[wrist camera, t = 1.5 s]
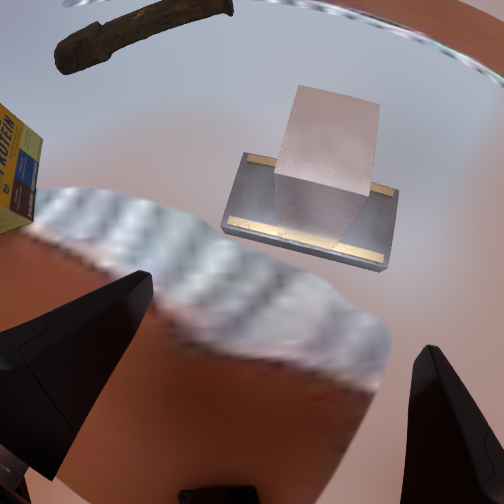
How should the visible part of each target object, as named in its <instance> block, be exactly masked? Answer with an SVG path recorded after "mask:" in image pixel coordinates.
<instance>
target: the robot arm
mask: <svg viewBox="0 0 504 504" xmlns="http://www.w3.org/2000/svg"><path fill="white" fill-rule="evenodd" d="M152 298H153V281H152V275H151V274H150V273H149V272H145V271H142V270H138V271H136V272H134V273H131V274H129V275H127V276H125V277H123V278H120V279H118V280H116V281H114V282H112V283H110V284H107V285H105V286H103V287H101V288H99V289H97V290H94V291H92V292H90V293H88V294H86V295H84V296H81V297H79V298H77V299H75V300H73V301H71V302H69V303H67V304H64V305H62V306H60V307H58V308H56V309H54V310H52V312H51V311H50V312H48V313H45V314H43V315H41V316H39V317H37V318H35V319H32V320H30V321H28V322H25V323H23V324H21V325H18V326H16V327H13V328H10V329H8V330H5V331H2V332H0V504H31V500H30V497H29V493H28V489H27V485H26V481H25V477H24V475H25V473H26V471H27V469H28V468H29V467H31V468H32V469H34V470H35V471H37V472H38V473H39V474H41V475H42V476H44V477H45V478H47V479H48V480H50V481H53V479H54V477H55V475H56V474H57V472H58V470H59V468H60V466H61V464H62V462H63V460H64V458H65V456H66V454H67V452H68V451H69V449H70V447H71V445H72V443H73V441H74V439H75V438H76V436H77V433H78V432H79V430H80V428H81V426H82V425H83V423H84V421H85V419H86V417H87V416H88V414H89V412H90V410H91V409H92V407H93V405H94V403H95V402H96V400H97V398H98V396H99V395H100V393H101V391H102V389H103V388H104V386H105V384H106V383H107V381H108V379H109V377H110V376H111V374H112V372H113V371H114V369H115V367H116V366H117V364H118V362H119V361H120V359H121V357H122V356H123V354H124V352H125V351H126V349H127V347H128V346H129V344H130V343H131V341H132V339H133V337H134V336H135V334H136V332H137V330H138V328H139V325H140V323H141V321H142V319H143V317H144V315H145V313H146V311H147V309H148V307H149V304H150V302H151V300H152ZM247 491H252V493H248V492H247ZM182 495H184V496H186V497H183V496H182ZM177 496H178V500H179V502H180V504H260V501H259V497H258V494H257V491H256V489H255V488H254V487H252V486H244V487H235V488H227V487H219V488H203V489H197V490H185V491H180V492H179V493H178V495H177ZM400 504H504V449H503V448H502V446H501V445H500V443H499V441H498V440H497V438H496V436H495V434H494V433H493V431H492V429H491V428H490V426H489V425H488V423H487V421H486V419H485V417H484V416H483V414H482V413H481V411H480V409H479V408H478V406H477V404H476V403H475V401H474V400H473V398H472V396H471V395H470V393H469V392H468V390H467V388H466V387H465V385H464V384H463V383H462V381H461V379H460V378H459V376H458V375H457V373H456V372H455V370H454V369H453V367H452V366H451V365H450V363H449V361H448V360H447V358H446V357H445V356H444V354H443V353H442V351H441V350H440V348H439V347H438V346H434V345H426V346H425V347H424V348H423V350H422V351H421V353H420V354H419V355H418V357H417V358H416V360H415V361H414V364H413V371H412V381H411V389H410V398H409V406H408V427H407V444H406V456H405V467H404V476H403V485H402V493H401V500H400Z"/></svg>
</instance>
